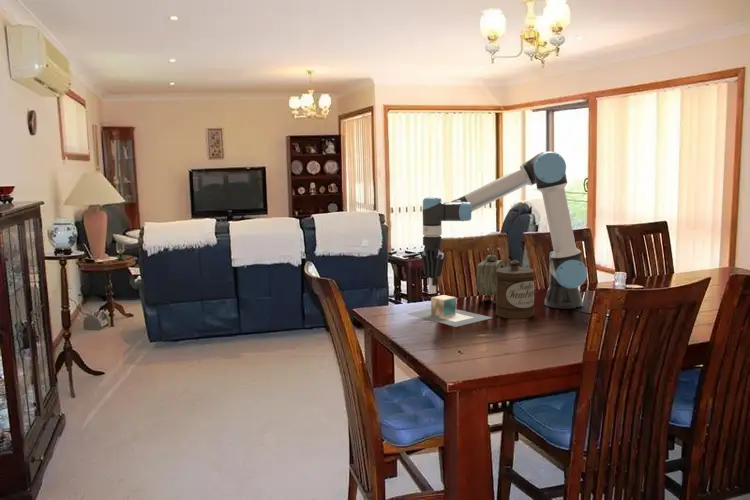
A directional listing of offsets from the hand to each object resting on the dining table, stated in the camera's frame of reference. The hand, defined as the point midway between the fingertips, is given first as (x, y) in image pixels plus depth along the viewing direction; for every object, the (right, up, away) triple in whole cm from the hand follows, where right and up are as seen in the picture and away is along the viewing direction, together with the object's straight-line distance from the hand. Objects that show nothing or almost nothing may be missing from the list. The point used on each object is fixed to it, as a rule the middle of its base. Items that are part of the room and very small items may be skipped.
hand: (432, 293), depth 267 cm
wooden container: (+32, -8, -6) cm, 34 cm away
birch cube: (+2, -5, -1) cm, 5 cm away
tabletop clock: (+27, -5, +20) cm, 34 cm away
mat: (+6, -9, -6) cm, 12 cm away
